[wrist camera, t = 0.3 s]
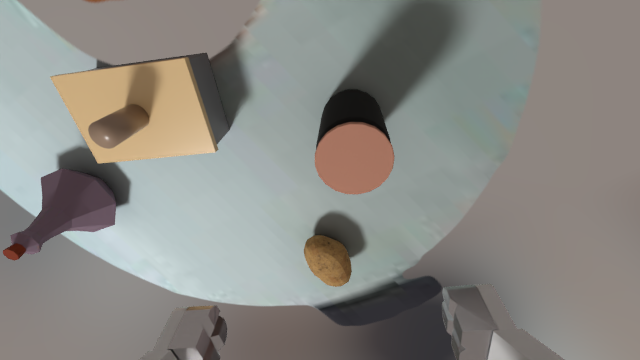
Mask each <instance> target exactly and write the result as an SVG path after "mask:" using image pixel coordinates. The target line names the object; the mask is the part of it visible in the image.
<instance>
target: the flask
mask: <svg viewBox="0 0 640 360" xmlns="http://www.w3.org/2000/svg"><path fill="white" fill-rule="evenodd" d="M41 185H42V196H43V197H42V211H41V212H40V213H39V215H38V216H37V217H36V219H35V220H34V221H33V222H32V224H31V225H30V226H29V227H28V228H27V229H26V230H25V231H22V232H18V233H15V234H13V235H11V241H12V245H11V246H10V247H8V248H7V249H5V250H3V254H4V255H5V256H6V257H7V258H8V259H12V260H17V259H19V258H20V257H21V256H22V255H23V254H24V253H28V254H34V253H37V252H40V250H41V247H42V244H43V243H44V242H45V241H47V240H49V239H50V238H52V237H54V236H56V235H58V234H60V233H62V232H64V231H89V232H95V231H98V230H101V229H104V228H106V227H109V226H112V225H115V212H116V201H115V197H114V193H113V191H112V190H111V189H110V188H109V187H108V185H107V184H106V183H105V182H104V181H103V180H102V179H100V178H97V177H95V176H92V175H89V174H86V173H82V172H77V171H73V170H68V169H64V168H62V169H60V170H57V171H55V172H53V173H51V174H48V175H46V176H44V177H42V178H41Z"/></svg>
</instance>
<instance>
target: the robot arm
mask: <svg viewBox="0 0 640 360" xmlns="http://www.w3.org/2000/svg"><path fill="white" fill-rule="evenodd" d="M443 297H444V300H445V301H444V302H443V303H442V314H443V320H444V323H445V327H446V330H447V332H448V333H449V334H450V335H451V336H452V348H453V351H454V354H455V356H456V359H457V360H564V359H563V358H561V357H560V356H559V355H557V354H556V353H555V352H553V351H552V350H551V349H549V348H548V347H546V346H545V345H544V344H542V343H541V342H540V341H538V340H537V339H536V338H534V337H533V336H531V335H530V334H529V333H527V332H526V331H525V330H523V329H517V328H516V326H515V324H514V323H513V320H512V319H511V317H510V315H509V313H508V312H507V310H506V308H505V306H504V304H503V303H502V301H501V299H500V297H499V295H498V293H497V292H496V290H495V288H494V286H492V285H491V284H482V285H465V286H454V287H444V289H443ZM219 313H220V310H219V308H218V307H217V306H198V307H180V308H176V309H175V310H174V311H173V312H172V314H171V316H170V318H169V320H168V322H167V323H166V325H165V327H164V329H163V331H162V333H161V335H160V337H159V339H158V341H157V343H156V345H155V347H154V349H153V351H148V352H147V353H146V354H145V355H144V356H143V357H142V358H140V359H139V360H220V355H219V352H218V351H219V350H220V349H221V348H222V347H223V346H224V345H225V341H226V337H227V325H226V321H225V320H224V318H222V317H221V316H219Z"/></svg>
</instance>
